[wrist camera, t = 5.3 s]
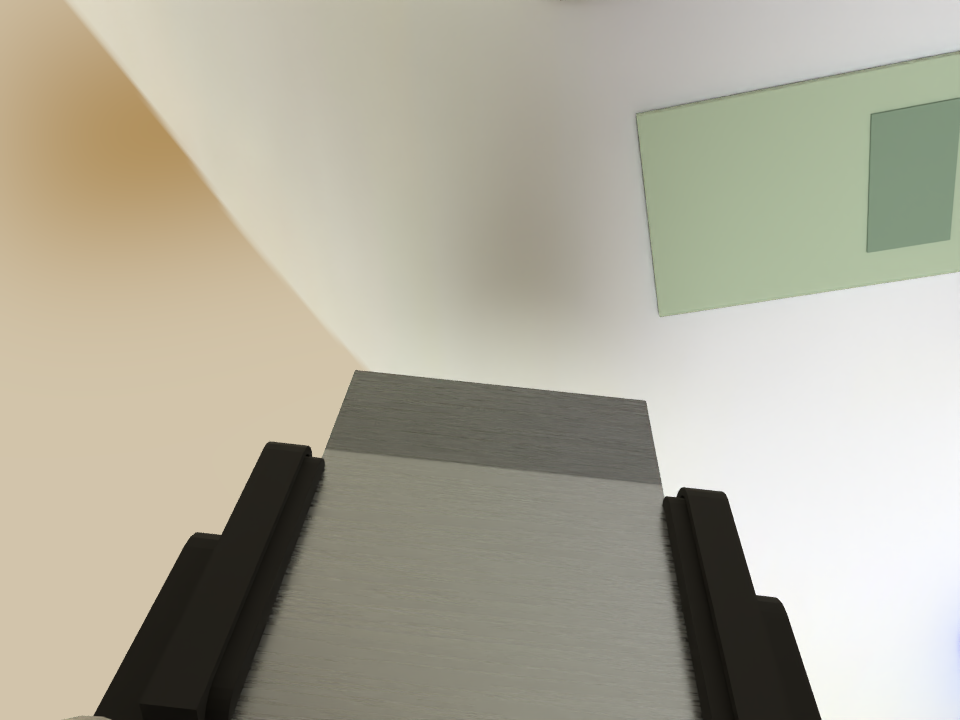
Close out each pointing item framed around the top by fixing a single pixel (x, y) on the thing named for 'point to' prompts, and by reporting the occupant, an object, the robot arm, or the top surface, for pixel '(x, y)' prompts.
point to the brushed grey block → (479, 565)
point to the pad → (805, 186)
